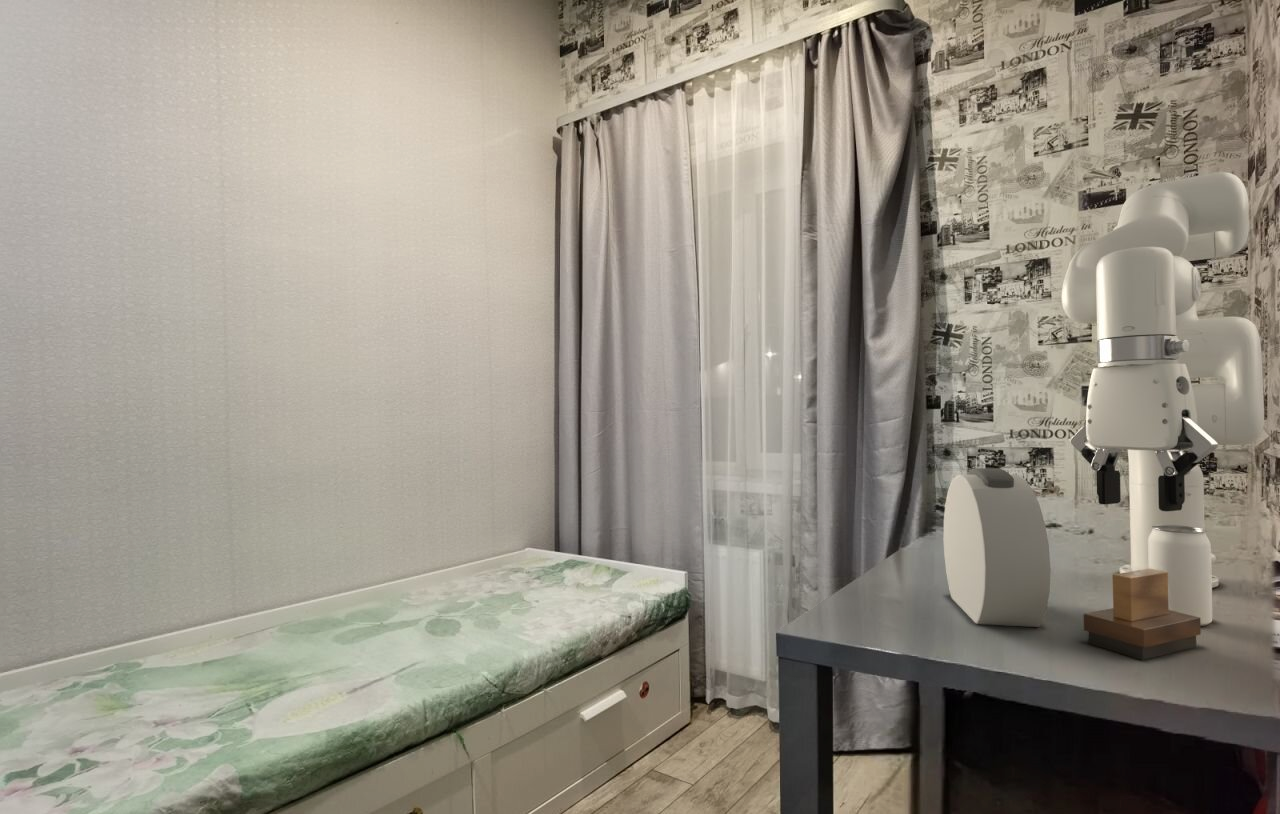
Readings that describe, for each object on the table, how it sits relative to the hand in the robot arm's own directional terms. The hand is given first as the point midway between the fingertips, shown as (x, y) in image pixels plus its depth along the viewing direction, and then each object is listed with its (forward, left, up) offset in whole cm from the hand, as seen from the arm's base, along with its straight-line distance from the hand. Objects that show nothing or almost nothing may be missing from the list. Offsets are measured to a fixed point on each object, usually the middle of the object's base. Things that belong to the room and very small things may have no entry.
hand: (1138, 505), depth 78 cm
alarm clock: (+4, -17, -17) cm, 24 cm away
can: (-15, -4, -17) cm, 23 cm away
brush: (0, 0, -16) cm, 16 cm away
